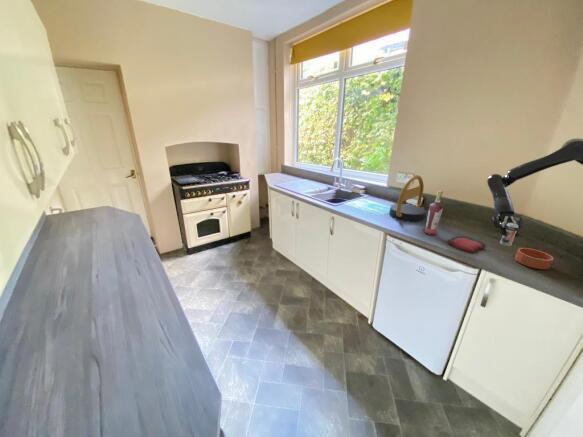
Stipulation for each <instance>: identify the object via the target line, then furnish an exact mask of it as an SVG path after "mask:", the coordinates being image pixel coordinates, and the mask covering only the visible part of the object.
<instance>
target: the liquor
mask: <svg viewBox="0 0 583 437" xmlns="http://www.w3.org/2000/svg"><path fill="white" fill-rule="evenodd" d="M443 192H444V191H443V190H440V189H439V190H437V192H436V197H435V200H434V202H432V203H430V204H429V208H428V211H427V218H426V222H425V223H426V224H425V227H424V228H425V229H424V230H423V231H424V233H425V234H426V233H427V234H426V235H429V234H431V235H430V236H434V235H436V234H437V229H438V226H439V222H440V220H441V216H442V213H443V210H444V207H445V206H444V205H443V204H442V203H441V200H442V195H443Z"/></svg>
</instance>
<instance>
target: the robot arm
mask: <svg viewBox="0 0 583 437" xmlns="http://www.w3.org/2000/svg"><path fill="white" fill-rule="evenodd" d="M573 161H574V162H577V163H578V164H580V165H582V166H583V138H580V137H579V138H571V139H568V140H566V141H565V142H564V143H562V145H561V147H560V148H558V149H556V150H555V151H553V152H552V153H549V154H547V155H545V156H542V157H540V158H539V157H538V158H537V159H534V160H530V161H528V162H524V163H522V164H520V165H517V166H515V167H513V168H511V169H509V170H507V174H506V175H504V176H502V175H501V174H499V173H492V174H491V175H489V176H488V178H487V180H486V182H487V186H488V189H489V190H490V192H491V195H492V200H493V206H494V211H495V215H494V216H492V217H491V218H490V219H491V222H492V223H493V225H494V227H495V228H496V229H499V230H500V234H501V235H502V236H503V235H504V236H505V235H507V232H506V228H505V227H506V224H508V223H515V224H517V225H518V229H517V232H516V235H515V237H519V236H520V231H519V230H520V229H522V228H523V218H522V217H520V218H519V217H516V215H515V214H516V213H515V209H514V205H513V202H512V200H511V196H510V193H509V190H508V189H507V188H508V187H509V186H511V185H512V184H514V183H515V182H517V181H519V180H522V179H524V178H527V177H530V176H532V175H534V174H537V173H539V172H542V171H544V170H547V169H550V168H553V167H556V166H559V165H562V164H566V163H570V162H573Z"/></svg>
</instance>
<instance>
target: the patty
mask: <svg viewBox="0 0 583 437" xmlns="http://www.w3.org/2000/svg"><path fill="white" fill-rule="evenodd" d="M447 243H448V244H449V245H450V244H451V245H450V246H452V245H453V246H452V247H454V248H455V247H456V248H455V249H457V248H458V249H457V250H459V249H461V250H460V251H463V250H464V251H463V252H466V253H468V252H469V253H468V254H475V253H476V252H477V251H479V250H483V249H484V245H483V244H482V243H480V242H477V241H475V240H473V239H470V238H467V237H457V238H454V239H453V240H449V241H448V242H447Z"/></svg>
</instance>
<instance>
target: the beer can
mask: <svg viewBox="0 0 583 437" xmlns="http://www.w3.org/2000/svg"><path fill="white" fill-rule="evenodd" d="M504 228H506V232H507V235H505V236H504V235H502V236H501V238H500V241H499V243H500V244H501V245H502V246H505V247H511V246H512V245H513V243H514V240H515V237H516V236H515V235H516V232H517V229H518V225H517V224H515V223H508V224H505V227H504ZM518 230H519V229H518Z"/></svg>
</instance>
